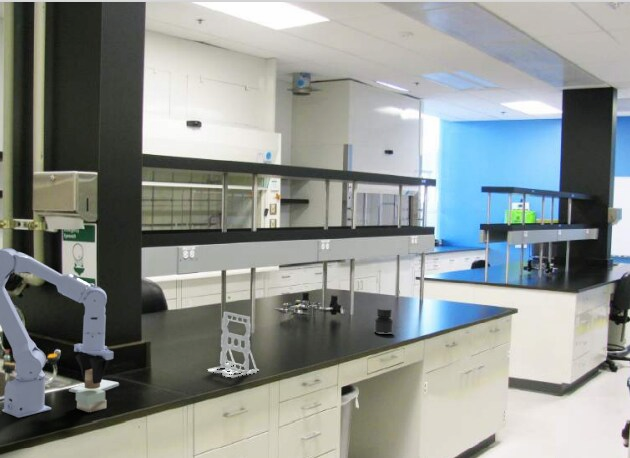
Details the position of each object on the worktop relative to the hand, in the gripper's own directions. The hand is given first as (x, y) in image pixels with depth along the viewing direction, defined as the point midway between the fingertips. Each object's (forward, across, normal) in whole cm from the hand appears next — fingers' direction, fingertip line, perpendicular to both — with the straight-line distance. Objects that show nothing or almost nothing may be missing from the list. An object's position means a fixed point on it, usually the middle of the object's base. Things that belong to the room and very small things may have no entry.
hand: (92, 381), depth 174 cm
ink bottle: (+8, -5, -161) cm, 161 cm away
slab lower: (+8, 0, 0) cm, 8 cm away
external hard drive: (+8, +15, -12) cm, 21 cm away
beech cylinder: (+2, 0, 0) cm, 2 cm away
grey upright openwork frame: (+8, -1, -57) cm, 58 cm away
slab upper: (+5, 0, 0) cm, 5 cm away
